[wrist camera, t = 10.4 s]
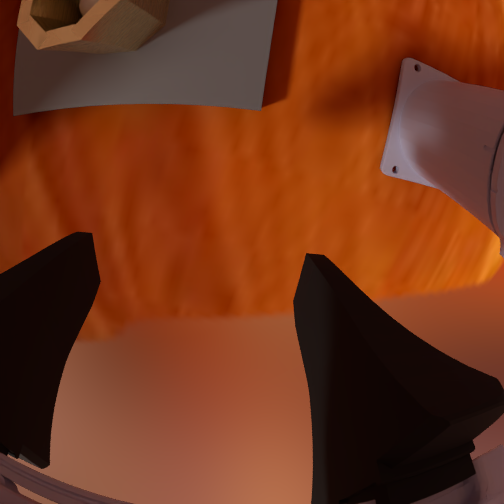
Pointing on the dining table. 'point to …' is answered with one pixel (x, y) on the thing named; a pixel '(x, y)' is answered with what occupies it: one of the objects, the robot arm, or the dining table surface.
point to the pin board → (158, 62)
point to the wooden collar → (91, 24)
